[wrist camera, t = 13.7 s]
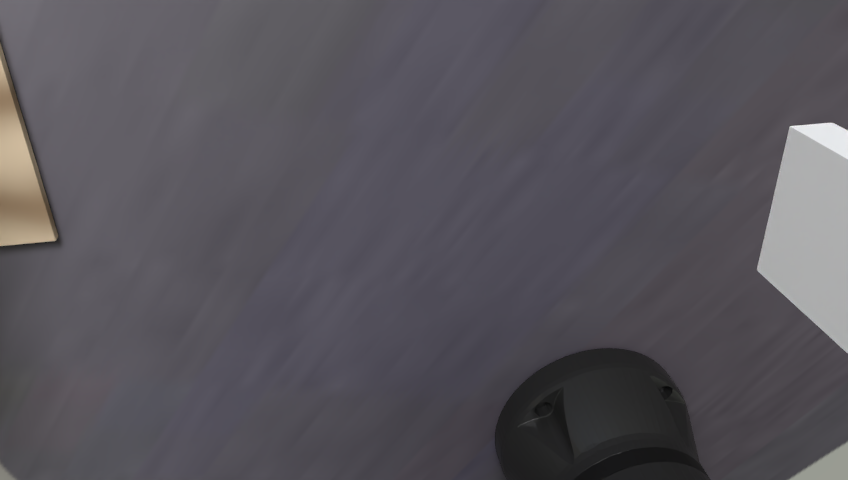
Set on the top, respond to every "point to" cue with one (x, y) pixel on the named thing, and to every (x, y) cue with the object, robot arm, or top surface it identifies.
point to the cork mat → (19, 175)
